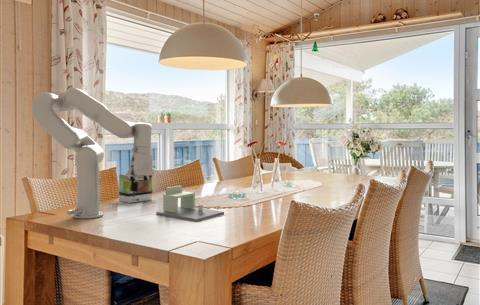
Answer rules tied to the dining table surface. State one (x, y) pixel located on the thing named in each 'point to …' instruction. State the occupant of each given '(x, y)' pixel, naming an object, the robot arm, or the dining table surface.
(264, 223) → the dining table surface
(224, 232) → the dining table surface
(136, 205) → the dining table surface
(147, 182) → the wooden crate
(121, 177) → the tea box
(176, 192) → the cover
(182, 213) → the board
